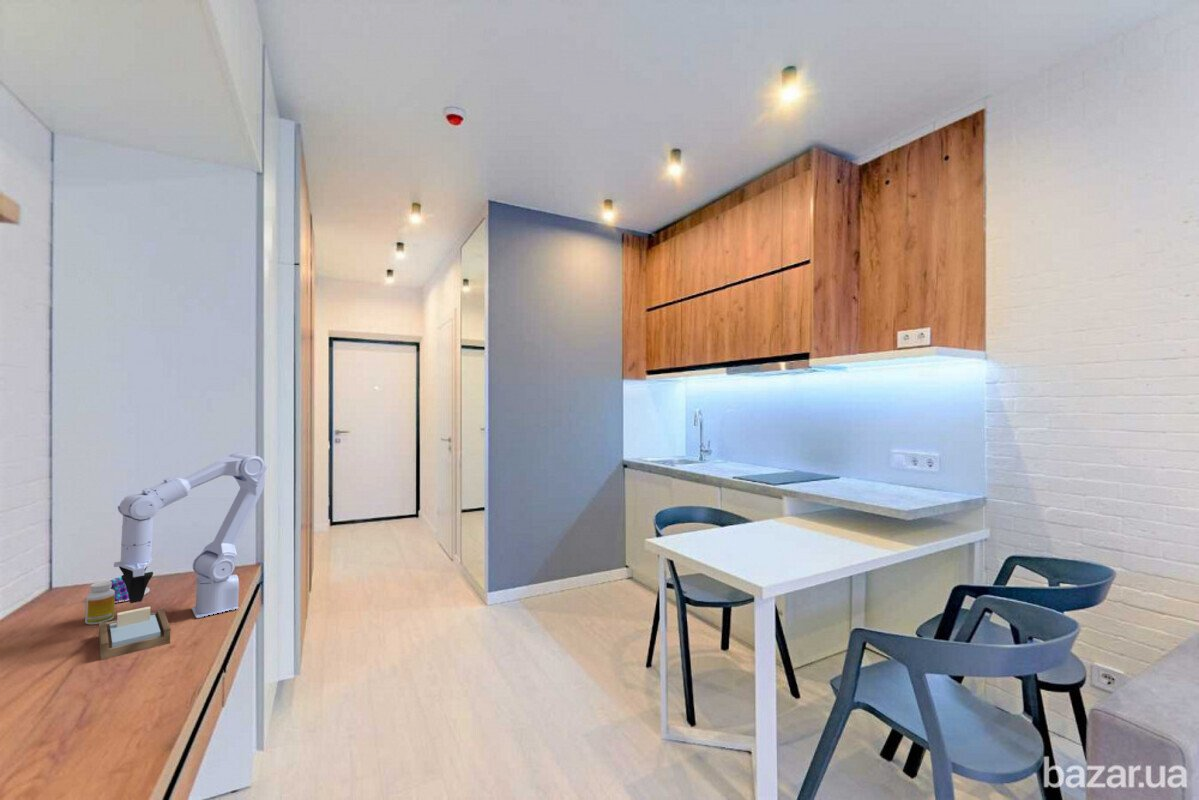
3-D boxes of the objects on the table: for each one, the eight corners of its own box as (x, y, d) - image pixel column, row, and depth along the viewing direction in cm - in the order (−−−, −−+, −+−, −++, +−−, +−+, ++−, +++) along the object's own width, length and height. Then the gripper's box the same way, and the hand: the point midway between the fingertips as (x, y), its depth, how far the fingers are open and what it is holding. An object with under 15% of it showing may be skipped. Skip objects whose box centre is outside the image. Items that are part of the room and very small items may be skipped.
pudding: (126, 586, 153) (127, 569, 153) (160, 591, 151) (161, 574, 151) (80, 602, 141) (81, 584, 141) (117, 607, 139) (118, 589, 139)
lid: (154, 618, 130) (155, 602, 130) (160, 636, 121) (161, 619, 121) (109, 628, 124) (110, 611, 124) (112, 647, 115) (112, 629, 115)
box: (162, 622, 132) (163, 608, 132) (169, 643, 122) (170, 628, 122) (98, 636, 123) (99, 622, 123) (100, 660, 114) (101, 644, 114)
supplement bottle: (118, 619, 133) (119, 582, 132) (90, 627, 128) (92, 589, 128) (108, 614, 135) (109, 578, 135) (80, 621, 130) (82, 584, 130)
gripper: (113, 538, 127) (110, 591, 127) (116, 553, 117) (114, 611, 117) (150, 533, 132) (148, 584, 132) (156, 547, 122) (154, 603, 122)
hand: (134, 596), depth 125 cm, fingers open, 7 cm apart
